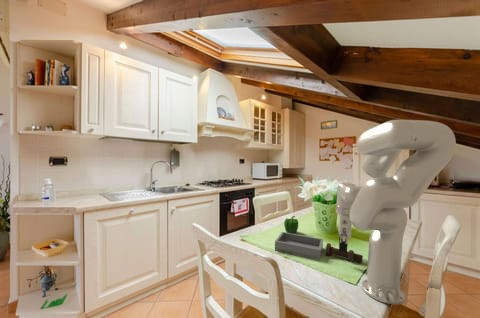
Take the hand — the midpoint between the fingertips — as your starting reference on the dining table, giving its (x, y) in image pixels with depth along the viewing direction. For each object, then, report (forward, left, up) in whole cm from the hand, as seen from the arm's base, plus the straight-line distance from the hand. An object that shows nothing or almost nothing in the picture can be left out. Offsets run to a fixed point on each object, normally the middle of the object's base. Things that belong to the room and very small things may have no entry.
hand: (342, 246), depth 100 cm
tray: (+1, +19, -5) cm, 20 cm away
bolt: (0, -1, -6) cm, 6 cm away
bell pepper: (+21, +27, -6) cm, 35 cm away
